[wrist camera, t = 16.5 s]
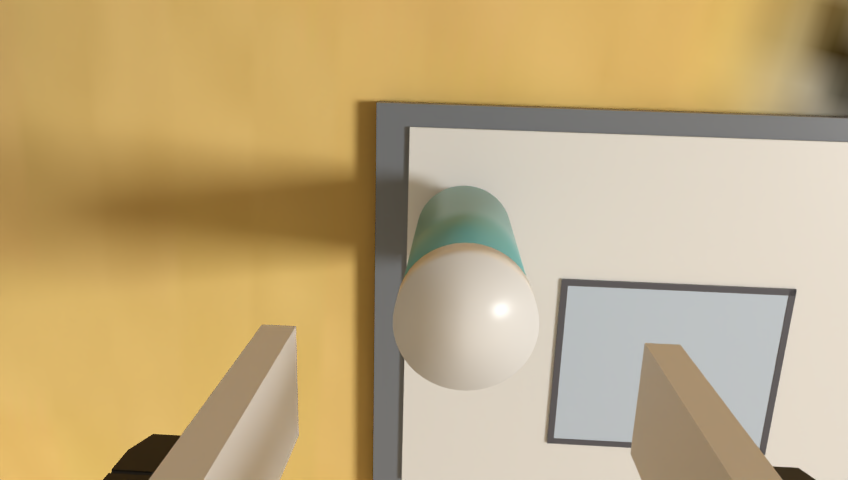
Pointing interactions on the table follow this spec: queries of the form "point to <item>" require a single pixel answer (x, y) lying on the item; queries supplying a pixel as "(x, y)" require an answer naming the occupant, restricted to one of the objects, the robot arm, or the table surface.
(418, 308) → the marker
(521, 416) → the sheet
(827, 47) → the table surface
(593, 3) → the table surface
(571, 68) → the table surface
